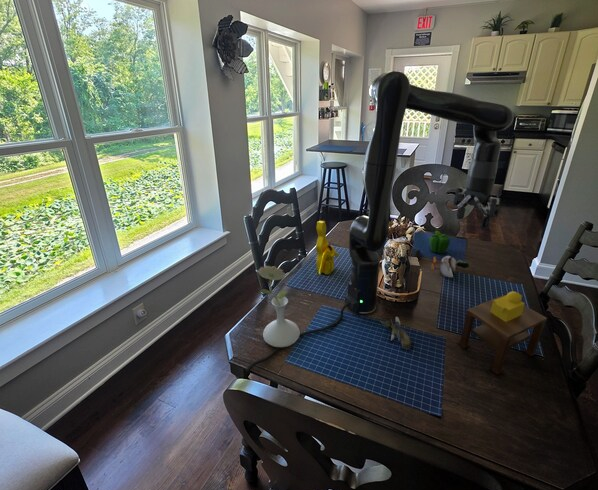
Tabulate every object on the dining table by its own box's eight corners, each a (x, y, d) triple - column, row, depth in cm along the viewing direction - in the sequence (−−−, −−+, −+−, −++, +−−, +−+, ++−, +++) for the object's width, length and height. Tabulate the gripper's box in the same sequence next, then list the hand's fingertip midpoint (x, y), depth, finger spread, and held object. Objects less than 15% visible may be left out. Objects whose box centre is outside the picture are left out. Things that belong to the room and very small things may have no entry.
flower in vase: (306, 332, 102) (305, 264, 92) (287, 356, 93) (283, 283, 83) (272, 319, 108) (268, 253, 98) (251, 340, 99) (244, 271, 89)
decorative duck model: (466, 252, 134) (485, 270, 120) (461, 268, 137) (479, 287, 123) (431, 250, 134) (445, 267, 120) (427, 265, 137) (441, 284, 123)
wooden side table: (496, 374, 86) (508, 336, 80) (459, 344, 96) (467, 309, 91) (534, 354, 92) (547, 318, 87) (495, 328, 102) (504, 294, 97)
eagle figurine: (375, 333, 99) (396, 347, 91) (384, 311, 100) (405, 324, 92) (391, 337, 103) (413, 352, 95) (400, 317, 103) (422, 329, 95)
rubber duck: (503, 323, 85) (509, 303, 83) (488, 313, 89) (493, 293, 86) (524, 313, 88) (530, 294, 86) (508, 304, 92) (513, 285, 90)
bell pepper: (449, 249, 150) (452, 230, 147) (446, 257, 144) (449, 237, 140) (430, 245, 155) (433, 226, 151) (426, 252, 148) (429, 233, 144)
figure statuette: (323, 282, 127) (324, 232, 119) (306, 277, 131) (306, 228, 123) (342, 263, 141) (344, 217, 133) (326, 258, 145) (327, 213, 136)
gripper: (453, 170, 102) (445, 218, 108) (495, 181, 90) (483, 233, 96) (469, 168, 105) (461, 214, 111) (512, 178, 93) (500, 229, 99)
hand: (471, 223), depth 104 cm, fingers open, 8 cm apart
